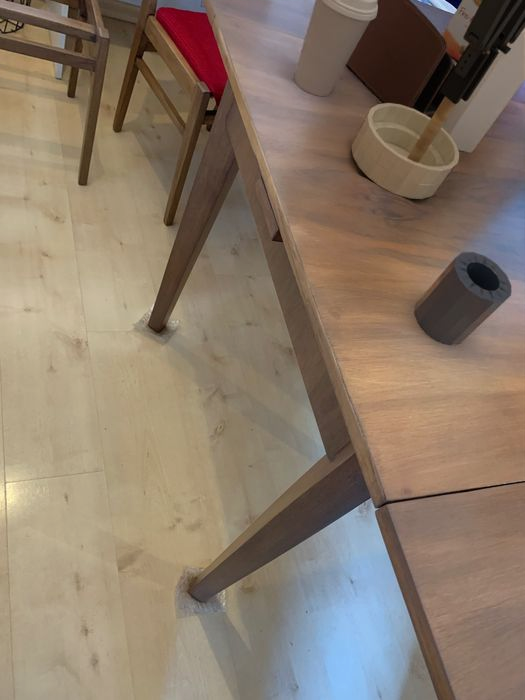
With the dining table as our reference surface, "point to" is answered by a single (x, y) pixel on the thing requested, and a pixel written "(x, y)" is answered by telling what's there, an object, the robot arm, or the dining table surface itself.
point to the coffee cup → (331, 42)
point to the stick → (432, 129)
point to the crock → (462, 298)
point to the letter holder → (403, 57)
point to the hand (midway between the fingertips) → (454, 95)
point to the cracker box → (460, 27)
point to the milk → (488, 97)
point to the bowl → (402, 151)
